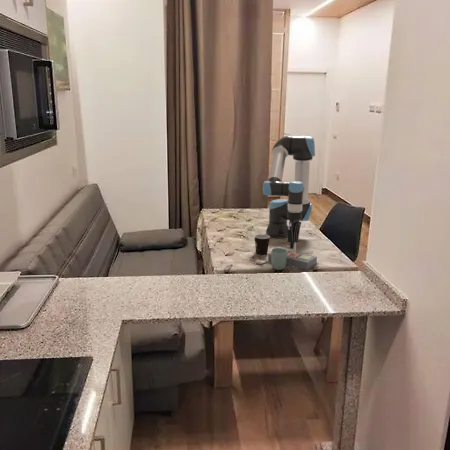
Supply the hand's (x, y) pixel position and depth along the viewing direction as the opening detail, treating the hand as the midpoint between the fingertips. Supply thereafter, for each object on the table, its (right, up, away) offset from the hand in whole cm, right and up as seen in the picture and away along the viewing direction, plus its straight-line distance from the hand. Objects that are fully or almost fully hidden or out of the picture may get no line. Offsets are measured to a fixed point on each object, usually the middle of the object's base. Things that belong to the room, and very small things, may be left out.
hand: (292, 253), depth 241 cm
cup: (-9, -7, -8) cm, 14 cm away
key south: (-6, -1, +5) cm, 8 cm away
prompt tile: (-17, -5, 0) cm, 18 cm away
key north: (+6, -5, -3) cm, 9 cm away
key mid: (0, -4, +1) cm, 4 cm away
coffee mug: (-15, 0, +17) cm, 23 cm away
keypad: (0, -5, +1) cm, 5 cm away
